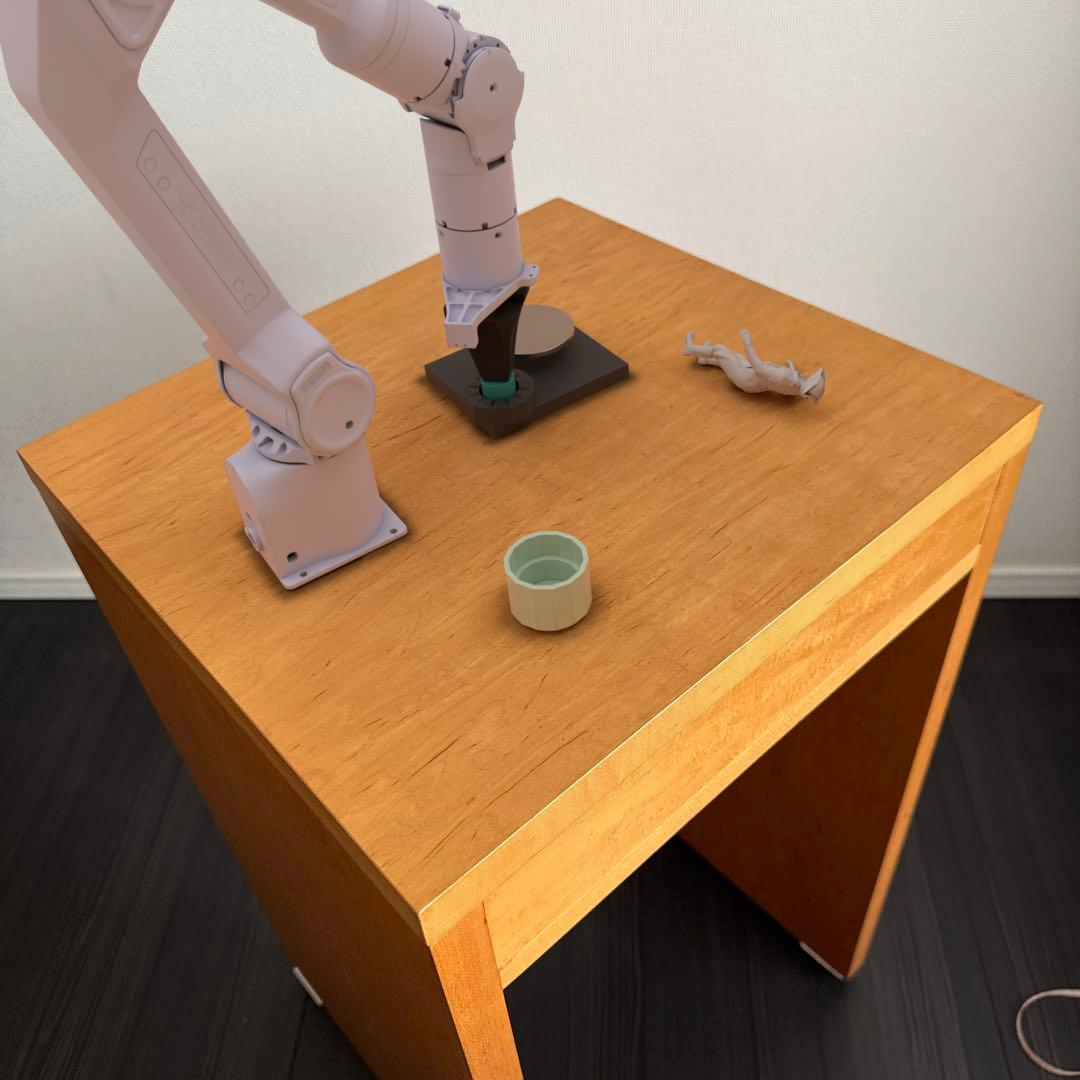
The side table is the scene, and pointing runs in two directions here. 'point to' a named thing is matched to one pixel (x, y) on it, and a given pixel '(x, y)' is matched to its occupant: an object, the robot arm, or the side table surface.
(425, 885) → the side table surface
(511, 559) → the pale green cup
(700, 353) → the soldier figure
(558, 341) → the scale plate
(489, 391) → the tare button
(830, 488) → the side table surface
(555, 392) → the scale
